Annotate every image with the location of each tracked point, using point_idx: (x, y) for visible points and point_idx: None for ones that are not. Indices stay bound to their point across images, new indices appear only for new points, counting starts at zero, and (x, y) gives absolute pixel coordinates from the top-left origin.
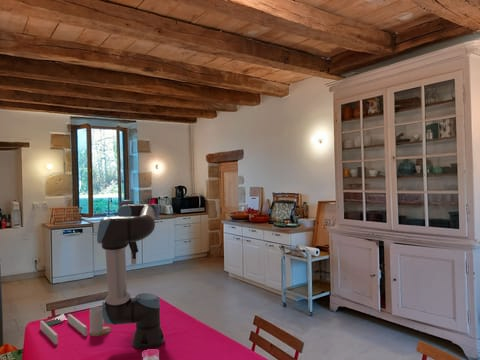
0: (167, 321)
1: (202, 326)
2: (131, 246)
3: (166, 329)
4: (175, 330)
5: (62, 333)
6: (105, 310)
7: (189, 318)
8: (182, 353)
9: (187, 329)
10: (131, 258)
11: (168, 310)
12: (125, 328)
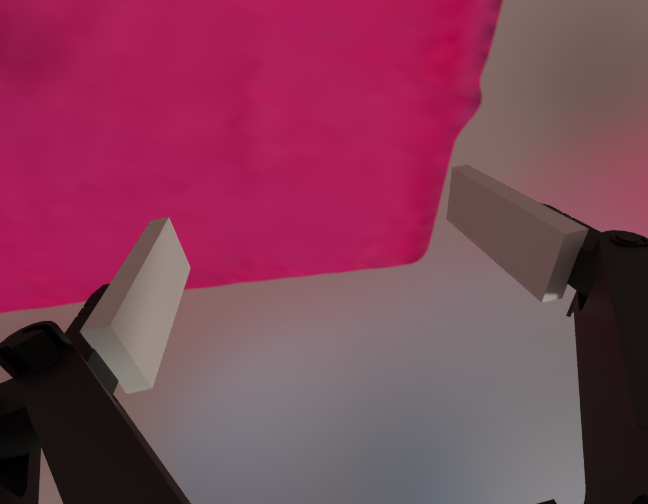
0: (139, 224)
1: (35, 302)
2: (72, 500)
3: (45, 194)
4: (21, 218)
5: None
6: None
7: None
8: None
9: (18, 256)
10: (130, 266)
11: (257, 261)
12: (127, 39)
